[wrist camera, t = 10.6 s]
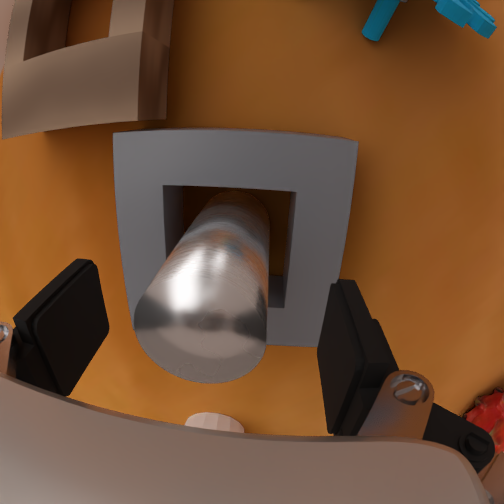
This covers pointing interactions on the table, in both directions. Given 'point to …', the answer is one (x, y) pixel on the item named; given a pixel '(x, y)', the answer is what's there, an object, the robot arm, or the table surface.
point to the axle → (211, 294)
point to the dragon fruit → (490, 416)
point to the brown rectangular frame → (84, 67)
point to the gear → (448, 4)
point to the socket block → (239, 176)
